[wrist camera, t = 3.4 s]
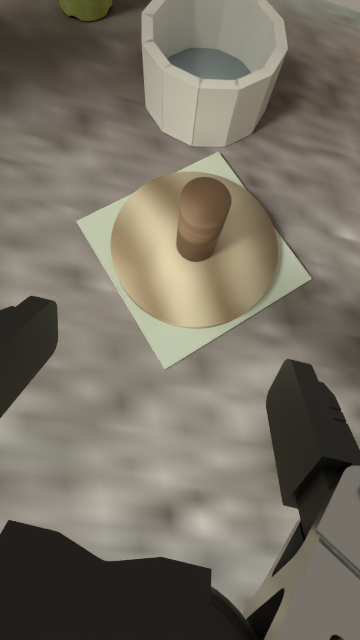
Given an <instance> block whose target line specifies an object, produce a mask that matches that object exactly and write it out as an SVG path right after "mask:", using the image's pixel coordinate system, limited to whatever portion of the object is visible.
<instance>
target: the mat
mask: <svg viewBox="0 0 360 640" xmlns="http://www.w3.org/2000/svg"><path fill="white" fill-rule="evenodd" d="M191 171H193V172H204V173H210V174H214V175H217V176H221V177H223V178H226V179H228V180H230V181H233V182H234V183H236V184H238V185H239V186H241V187H242V188H244V189H245V187H244V186H243V184H242V183H241V182H240V180H239V179H238V178H237V176H236V175H235V174H234V172H233V171H232V170H231V168H230V167H229V165H228V164H227V163H226V161H225V160H224V159H223V157H222V156H221V155H220V153H219V152H217V153H215V154H213V155H211V156H209V157H206V158H204V159H202V160H200V161H198V162H196V163H194V164H192V165H190V166H188V167H186V168H184V169H182V170H180V171H178V172H191ZM178 172H176V173H178ZM245 190H246V189H245ZM131 195H132V194H131ZM131 195H129V196H127V197H125V198H123V199H121V200H119V201H117V202H115V203H112V204H110V205H108V206H106V207H104V208H102V209H100V210H98V211H96V212H94V213H92V214H90V215H88V216H86V217H84V218H82V219H80V220H78V221H77V223H78V225H79V227H80V228H81V230H82V232H83V233H84V235H85V237H86V238H87V240H88V242H89V243H90V245H91V247H92V249H93V250H94V252H95V254H96V255H97V257H98V259H99V260H100V262H101V264H102V265H103V267H104V269H105V270H106V272H107V274H108V275H109V277H110V279H111V280H112V282H113V284H114V285H115V287H116V289H117V290H118V292H119V294H120V295H121V297H122V299H123V300H124V302H125V304H126V305H127V307H128V309H129V310H130V312H131V314H132V315H133V317H134V319H135V320H136V322H137V324H138V326H139V327H140V329H141V331H142V332H143V334H144V336H145V337H146V339H147V341H148V342H149V344H150V346H151V347H152V349H153V351H154V352H155V354H156V356H157V357H158V359H159V361H160V362H161V364H162V366H163V367H164V369H167V368H168V367H170V366H172V365H173V364H175V363H177V362H178V361H180V360H181V359H183V358H185V357H186V356H188V355H190V354H191V353H193V352H194V351H196V350H198V349H199V348H201V347H202V346H204V345H206V344H207V343H209V342H211V341H212V340H214V339H215V338H217V337H219V336H220V335H222V334H224V333H225V332H227V331H228V330H230V329H232V328H233V327H235V326H236V325H238V324H240V323H241V322H243V321H245V320H246V319H248V318H249V317H251V316H253V315H254V314H256V313H258V312H259V311H261V310H262V309H264V308H266V307H267V306H269V305H270V304H272V303H274V302H275V301H277V300H279V299H280V298H282V297H283V296H285V295H287V294H288V293H290V292H292V291H293V290H295V289H296V288H298V287H300V286H301V285H303V284H304V283H306V282H308V281H309V280H311V279H312V278H311V277H310V275H309V274H308V273H307V271H306V270H305V269H304V267H303V266H302V265H301V263H300V262H299V260H298V259H297V258H296V256H295V255H294V254H293V252H292V251H291V250H290V248H289V247H288V246H287V244H286V243H285V241H284V240H283V239H282V237H281V236H280V235H279V233H278V232H277V231H276V229H275V228H274V230H275V233H276V237H277V243H278V260H277V267H276V271H275V274H274V277H273V279H272V282H271V284H270V286H269V287H268V289H267V291H266V292H265V294H264V295H263V296H262V297H261V299H260V300H259V301H258V302H257V303H256V304H255V305H254V306H253V307H252V308H250V309H249V310H248V311H247V312H245V313H244V314H243V315H241V316H240V317H238V318H236V319H234V320H232V321H230V322H228V323H225V324H222V325H220V326H215V327H211V328H202V329H191V328H182V327H176V326H173V325H170V324H166V323H164V322H162V321H159V320H157V319H155V318H153V317H152V316H150V315H149V314H147V313H145V312H144V311H143V310H142V309H140V308H139V307H138V306H137V305H136V304H135V303H134V302H133V301H132V300H131V299H130V298H129V296H128V295H127V293H126V292H125V290H124V289H123V287H122V285H121V283H120V281H119V279H118V277H117V274H116V272H115V269H114V266H113V262H112V257H111V234H112V230H113V226H114V222H115V220H116V217H117V215H118V213H119V211H120V210H121V208H122V206H123V205H124V204H125V202H126V201H127V200H128V198H129V197H130V196H131Z"/></svg>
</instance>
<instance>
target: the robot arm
mask: <svg viewBox="0 0 360 640" xmlns="http://www.w3.org/2000/svg"><path fill="white" fill-rule="evenodd" d="M57 342H58V319H57V304H56V302H55V301H52V300H48V299H44V298H40V297H36V296H29V297H28V298H27V299H25V300H24V301H23V302H21V303H20V304H19V305H17V306H16V307H14V306H10V307H8V308H5V309H2V310H0V418H1V417H2V415H3V414H4V413H5V412H6V411H7V409H8V408H9V407H10V406H11V404H12V403H13V402H14V401H15V400H16V398H17V397H18V396H19V395H20V393H21V392H22V391H23V390H24V389H25V387H26V386H27V385H28V384H29V383H30V381H31V380H32V379H33V378H34V376H35V375H36V374H37V373H38V372H39V370H40V369H41V368H42V367H43V365H44V364H45V363H46V362H47V361H48V359H49V358H50V357H51V356H52V354H53V353H54V351H55V349H56V346H57ZM266 409H267V415H268V421H269V427H270V432H271V438H272V444H273V450H274V456H275V461H276V467H277V473H278V479H279V485H280V490H281V496H282V502H283V505H285V506H289V507H293V508H297V509H298V510H299V514H300V519H299V520H298V522H297V523H296V524H295V526H294V528H293V530H292V532H291V533H290V535H289V537H288V539H287V541H286V542H285V544H284V546H283V548H282V550H281V552H280V553H279V555H278V557H277V559H276V561H275V562H274V564H273V566H272V568H271V570H270V572H269V573H268V575H267V577H266V579H265V580H264V582H263V583H262V585H261V586H260V588H259V589H258V591H257V592H256V593H255V595H254V596H253V597H252V599H251V600H250V602H249V603H248V605H247V607H246V608H245V610H244V612H243V613H242V614H241V612H240V611H239V610H238V609H237V608H236V607H235V606H234V605H233V604H232V603H231V602H230V601H229V600H228V599H227V598H226V597H225V596H224V595H222V594H221V593H220V592H219V591H218V590H216V589H215V588H213V587H211V569H209V568H205V567H201V566H197V565H192V564H188V563H184V562H180V561H176V560H172V559H168V558H164V557H156V558H145V559H133V560H122V561H104V560H102V559H100V558H98V557H97V556H95V555H94V554H92V553H90V552H89V551H87V550H86V549H84V548H83V547H81V546H80V545H78V544H76V543H75V542H73V541H72V540H70V539H69V538H67V537H66V536H64V535H62V534H61V533H59V532H57V531H53V530H48V529H44V528H40V527H36V526H32V525H28V524H24V523H20V522H16V521H11V520H8V522H7V524H6V525H5V527H4V529H3V531H2V532H1V534H0V640H360V450H359V448H358V445H357V443H356V441H355V439H354V437H353V434H352V432H351V430H350V428H349V426H348V424H346V419H345V417H344V415H343V413H342V412H341V408H340V406H339V404H338V402H337V400H336V397H335V395H334V394H333V393H332V392H331V391H330V390H329V389H328V387H327V386H326V385H325V384H324V383H322V382H319V381H318V379H317V376H316V374H315V372H314V369H313V367H312V365H310V364H307V363H303V362H299V361H295V360H291V359H287V360H285V361H284V363H283V365H282V366H281V368H280V370H279V372H278V374H277V376H276V378H275V380H274V382H273V384H272V385H271V387H270V389H269V392H268V395H267V400H266Z"/></svg>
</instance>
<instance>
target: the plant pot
mask: <svg viewBox="0 0 360 640" xmlns="http://www.w3.org/2000/svg"><path fill="white" fill-rule="evenodd" d="M58 1H59V4H60V7H61V8H62V10H63V11H64V12H65V13H66V14H67V15H68V16H75V17H77V18H78V19H80V20H81V21H94V20H98V19H100V18H102V17H104V16H105V15H106V14H107V12H108V10H109V8H110V6H112V2H113V1H112V0H58Z"/></svg>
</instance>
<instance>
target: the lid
mask: <svg viewBox="0 0 360 640" xmlns="http://www.w3.org/2000/svg"><path fill="white" fill-rule="evenodd" d="M111 257H112V262H113V266H114V269H115V272H116V274H117V277H118V279H119V281H120V283H121V285H122V287H123V289H124V290H125V292H126V293H127V295H128V296H129V298H130V299H131V300H132V301H133V302H134V303H135V304H136V305H137V306H138V307H139V308H140V309H142V310H143V311H144V312H145V313H147V314H149V315H150V316H152V317H153V318H155V319H157V320H159V321H162V322H164V323H166V324H170V325H173V326H176V327H182V328H191V329H202V328H211V327H215V326H220V325H222V324H225V323H228V322H230V321H232V320H234V319H236V318H238V317H240V316H241V315H243V314H244V313H245V312H247V311H248V310H249V309H250V308H252V307H253V306H254V305H255V304H256V303H257V302H258V301H259V300H260V299H261V297H262V296H263V295H264V294H265V292H266V291H267V289H268V287H269V286H270V284H271V282H272V279H273V277H274V274H275V271H276V267H277V260H278V243H277V237H276V233H275V230H274V227H273V224H272V222H271V220H270V218H269V216H268V214H267V213H266V211H265V209H264V208H263V207H262V205H261V204H260V203H259V202H258V201H257V199H256V198H255V197H253V196H252V195H251V194H250V193H249V192H248V191H247V190H245V189H244V188H242V187H241V186H239V185H238V184H236V183H234V182H233V181H230V180H228V179H226V178H223V177H221V176H217V175H214V174H210V173H204V172H193V171H191V172H178V173H172V174H168V175H165V176H161V177H159V178H157V179H154V180H152V181H150V182H148V183H147V184H145V185H143V186H142V187H141V188H139V189H138V190H137V191H136V192H135V193H133V194H132V195H131V196H130V197H129V198H128V200H127V201H126V202H125V204H124V205H123V206H122V208H121V210H120V211H119V213H118V215H117V217H116V220H115V222H114V226H113V230H112V234H111Z"/></svg>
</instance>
